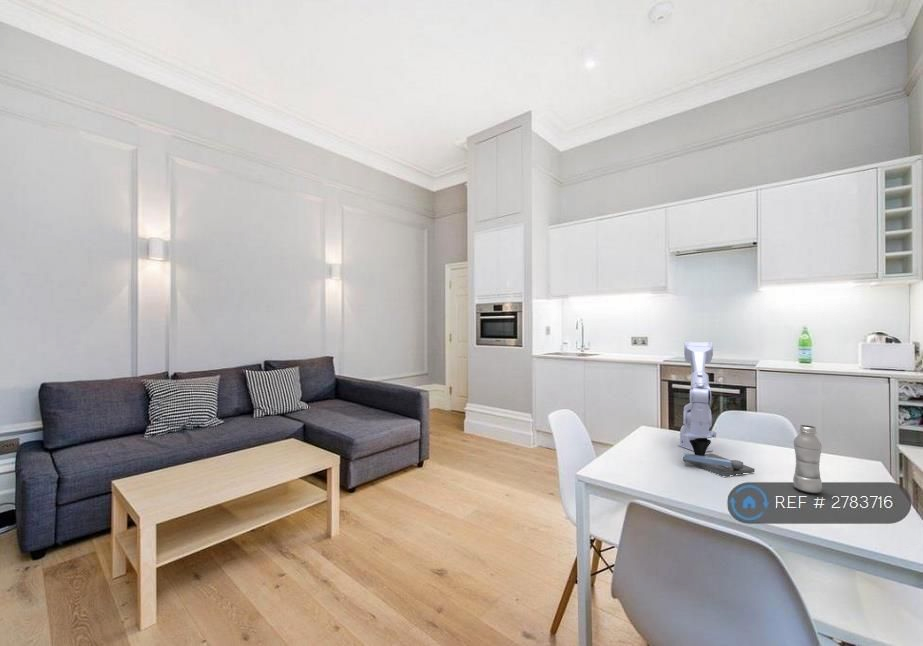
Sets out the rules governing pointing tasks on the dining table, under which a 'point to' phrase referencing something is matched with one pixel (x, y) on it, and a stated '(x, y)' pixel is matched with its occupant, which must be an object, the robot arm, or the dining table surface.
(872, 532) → the dining table surface
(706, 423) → the robot arm
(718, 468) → the chassis
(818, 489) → the plastic bottle
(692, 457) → the cable arm
